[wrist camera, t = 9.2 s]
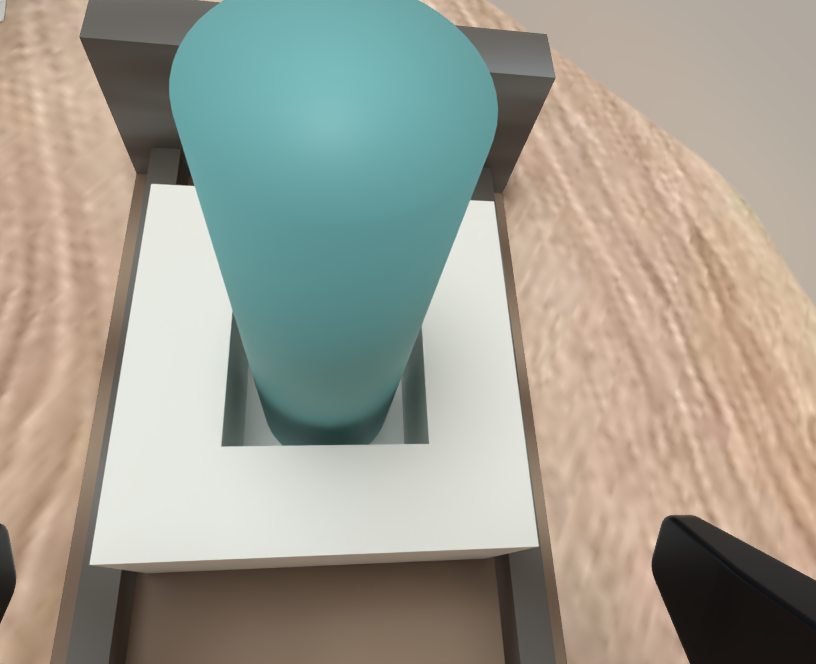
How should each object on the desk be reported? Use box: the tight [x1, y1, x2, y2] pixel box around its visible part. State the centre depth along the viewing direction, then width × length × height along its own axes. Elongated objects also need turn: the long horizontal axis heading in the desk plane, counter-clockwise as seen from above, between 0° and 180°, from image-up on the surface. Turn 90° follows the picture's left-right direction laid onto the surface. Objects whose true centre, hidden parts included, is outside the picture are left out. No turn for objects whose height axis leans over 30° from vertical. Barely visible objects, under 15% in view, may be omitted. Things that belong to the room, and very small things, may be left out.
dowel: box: [169, 0, 498, 446], centre depth 13 cm, size 4×4×13 cm
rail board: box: [50, 0, 567, 664], centre depth 18 cm, size 20×14×7 cm
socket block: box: [89, 184, 539, 573], centre depth 17 cm, size 10×10×5 cm
